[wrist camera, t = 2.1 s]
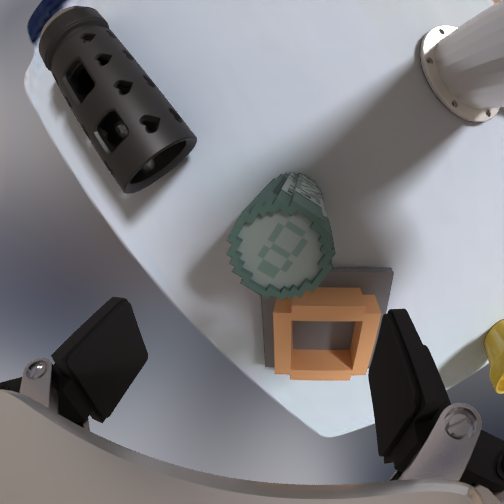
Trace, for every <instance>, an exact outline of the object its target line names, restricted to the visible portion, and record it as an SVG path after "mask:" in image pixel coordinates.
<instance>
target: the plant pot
mask: <svg viewBox="0 0 504 504" xmlns="http://www.w3.org/2000/svg"><path fill="white" fill-rule="evenodd" d="M484 346H485V349H486V353H487V357H488V360H489V364H490V369H491V370H490V379H491V382H492V384H493V387H494V389H495V391H496V392H497V393H499V394H502V393H504V319H503V320H501V321H499V322H498V323H496V324H495V325H494V326H493V327H492V328H491V329H490V331H489V332H488V334H487V336H486V338H485V341H484Z"/></svg>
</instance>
